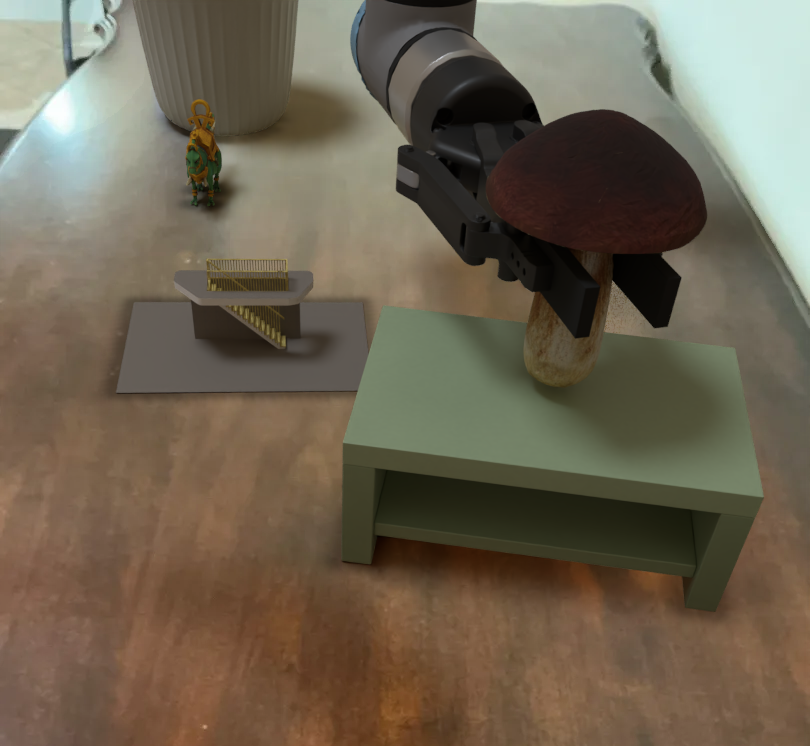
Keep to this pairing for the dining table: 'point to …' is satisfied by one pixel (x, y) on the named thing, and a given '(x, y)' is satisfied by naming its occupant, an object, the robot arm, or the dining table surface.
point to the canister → (220, 59)
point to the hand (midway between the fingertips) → (627, 307)
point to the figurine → (203, 154)
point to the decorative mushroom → (592, 216)
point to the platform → (244, 336)
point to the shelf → (551, 451)
